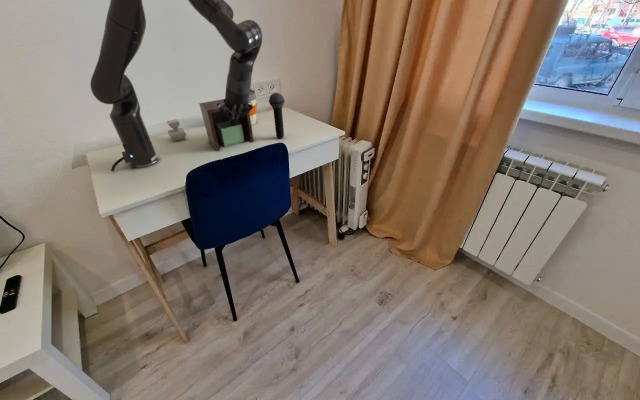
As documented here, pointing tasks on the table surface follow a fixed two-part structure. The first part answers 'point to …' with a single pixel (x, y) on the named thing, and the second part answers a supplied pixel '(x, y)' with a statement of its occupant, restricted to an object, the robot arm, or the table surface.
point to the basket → (229, 133)
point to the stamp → (176, 130)
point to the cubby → (215, 116)
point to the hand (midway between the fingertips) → (232, 124)
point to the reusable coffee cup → (253, 101)
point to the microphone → (277, 113)
